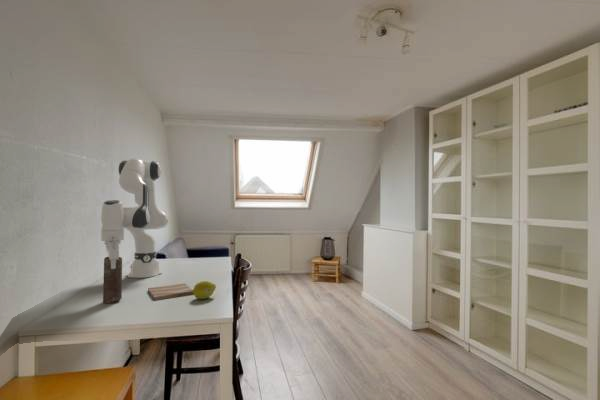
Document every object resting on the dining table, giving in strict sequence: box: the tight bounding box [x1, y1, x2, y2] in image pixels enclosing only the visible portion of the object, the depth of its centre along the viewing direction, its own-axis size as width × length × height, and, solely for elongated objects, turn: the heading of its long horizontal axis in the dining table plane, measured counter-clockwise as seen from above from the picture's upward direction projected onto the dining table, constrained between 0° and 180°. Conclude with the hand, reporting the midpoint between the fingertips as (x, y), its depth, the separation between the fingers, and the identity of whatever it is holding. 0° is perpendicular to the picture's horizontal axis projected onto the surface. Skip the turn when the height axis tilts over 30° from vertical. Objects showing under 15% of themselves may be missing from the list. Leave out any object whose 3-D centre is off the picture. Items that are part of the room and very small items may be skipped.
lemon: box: [192, 280, 217, 300], centre depth 152 cm, size 11×8×8 cm
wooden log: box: [102, 256, 123, 304], centre depth 148 cm, size 8×7×20 cm
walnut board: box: [147, 282, 194, 301], centre depth 162 cm, size 18×18×2 cm
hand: (112, 266), depth 148 cm, fingers closed on wooden log, 7 cm apart
